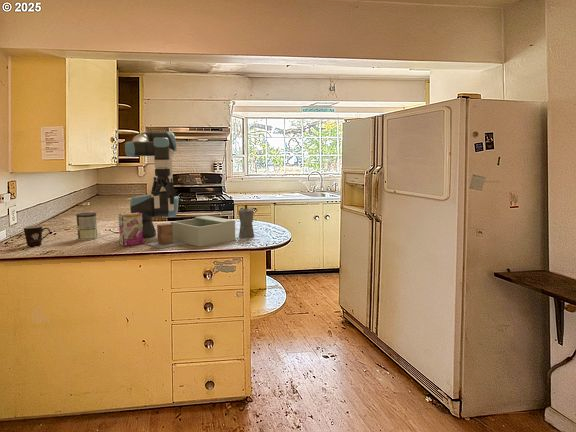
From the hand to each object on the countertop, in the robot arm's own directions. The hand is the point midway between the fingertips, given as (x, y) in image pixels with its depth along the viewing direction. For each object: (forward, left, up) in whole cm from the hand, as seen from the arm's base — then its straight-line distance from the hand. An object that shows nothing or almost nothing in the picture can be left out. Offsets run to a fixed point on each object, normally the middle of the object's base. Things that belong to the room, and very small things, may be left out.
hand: (164, 209), depth 249 cm
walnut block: (0, 0, -18) cm, 18 cm away
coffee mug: (-47, -47, -19) cm, 69 cm away
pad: (0, 0, -19) cm, 19 cm away
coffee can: (-46, -21, -19) cm, 54 cm away
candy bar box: (-13, -12, -19) cm, 26 cm away
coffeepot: (+13, +44, -19) cm, 50 cm away
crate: (+4, +21, -19) cm, 28 cm away
